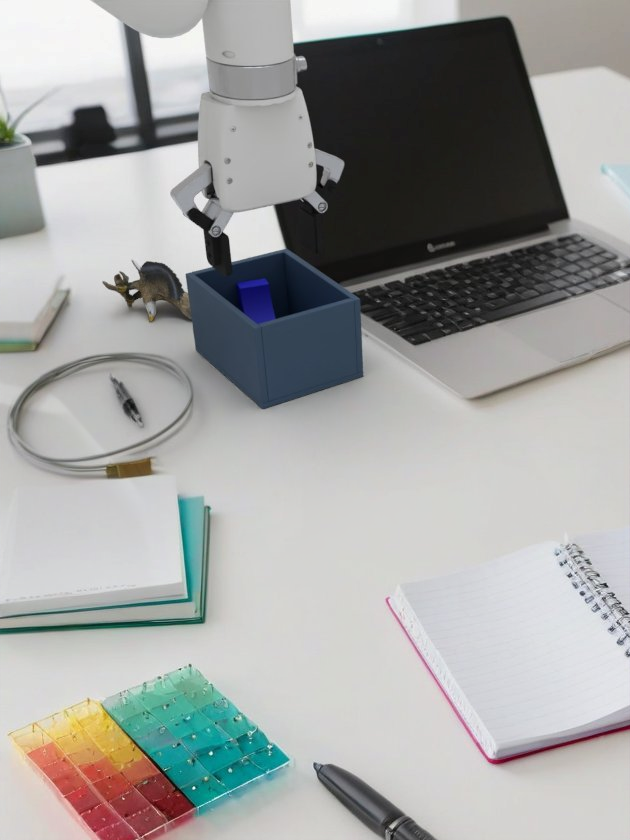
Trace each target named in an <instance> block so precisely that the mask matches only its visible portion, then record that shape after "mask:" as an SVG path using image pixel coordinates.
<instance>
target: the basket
mask: <svg viewBox="0 0 630 840" xmlns="http://www.w3.org/2000/svg"><path fill="white" fill-rule="evenodd" d="M231 262H232V273H231V275H229V276H224V275H223V274H221V273H220V272H219V271H217V270H216V269H215V268H213V267H212V266H210V267H206V268H202V269H198V270H194V271H192V272H191V271H190V272H187V273H185V279H186V281H185V282H186V289H187V293H188V296H189V304H190V311H191V318H192V319H191V324H192V333H193V339H194V340H193V341H194V345H195V352H197V353H198V354H199V355H201V357H203V358H204V359H205V360H206V361H207V362H208V363H209V364H210V365H212V366H213V367H214V368H215V369H216V370H217V371H219V373H220V374H222V375H223V376H225V378H227V379H228V381H230V382H231V383H233V384H234V385H235V386H236V387H237V388H238V389H239V390H240V391H241V392H242V393H244V394H245V395H246V396H247V397H248V398H249V399H251V400H252V402H254V403H255V404H256V405H257V406H258V407H259V408H261V409H262V410H264V409H267V408H270V407H274V406H276V405H280V404H283V403H286V402H289V401H292V400H296V399H298V398H302V397H305V396H308V395H311V394H313V393H317V392H320V391H323V390H326V389H329V388H332V387H335V386H338V385H341V384H344V383H348V382H350V381H353V380H357V379H359V378H363V377H364V360H363V357H364V356H363V336H362V333H363V332H362V311H361V310H362V309H361V299H360V298H359V297H358V296H357V295H355V293H353V292H351V291H350V290H348V289H347V288H345V287H343V286H342V285H341V284H339V283H338V282H336V281H335V280H333V279H332V278H330V277H329V276H327V275H326V274H324V273H323V272H321V271H320V270H319V269H318V268H316V267H314V266H313V265H312V264H310V263H309V262H307V261H305V260H304V259H303V258H301V257H300V256H298V255H297V254H295V253H294V252H292V251H291V250H289V249H288V248H283V249H278V250H275V251H271V252H267V253H263V254H259V255H255V256H250V257H246V258H242V259H239V260H234V261H231ZM264 278H265V279H266V280H267V282H268V283H269V288H270V295H271V301H272V306H273V310H274V314H275V318H276V319H274V320H271V321H267V322H264V323H260V324H256V323H255V322H254V321H253V320H251V319H250V318H249V317H248V316H246V315H245V314H244V313H242V312H241V311H240V310H239V303H238V294H237V285H236V283H238V282H244V281H251V280H257V279H264Z"/></svg>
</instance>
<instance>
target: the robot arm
mask: <svg viewBox="0 0 630 840" xmlns="http://www.w3.org/2000/svg"><path fill="white" fill-rule="evenodd" d="M90 2H92V3H93V4H94V5H96V6H98V7H99V8H101V9H102V10H103V11H105V12H107V13H108V14H110V15H111V16H113V17H114V18H116V19H117V20H119V21H120V22H121V23H123V24H124V25H126V26H128V27H130V28H131V29H132V30H134V31H136V32H138V33H140V34H143V35H146V36H148V37H151V38H158V39H173V38H177V37H181V36H183V35H185V34H187V33H190V31H191V30H193V29H194V28H195V27H196V26H198V24H199V23H200V21H201V23H202V32H203V41H204V50H205V51H204V52H205V59H206V68H207V69H206V70H207V78H208V87H209V91H206V92H203V93H201V95H200V99H199V100H200V101H199V109H198V122H197V124H198V125H197V156H198V157H197V158H198V160H197V161H198V168H197V169H196V170H194V171H193V172H192V173H191V174H189V175H188V176H186V177H185V178H184V179H183V180H181V181H180V182H179V183H178V184H177V185H175V186H174V187H173V188H172V189H171V190H170V193H169V194H170V197H171V198H172V200H173V201H174V203H175V204H176V206H177V207H178V209H179V210H180V211H181V212H182V215H183V216H184V217H186V218H187V219H188V220H189V221H191V222H192V223H193V224H195V225H196V226H198V227H199V228H200V229H201V230H202V231H203V238H204V247H205V256H206V260H207V263H208V264H209V265H210V267H213V268H215V269H216V270H217V271H219V272H220V273H221V274H223V275H224V276H229V275H231V273H232V262H233V261H232V253H231V244H230V237H229V235H228V234H226V233H225V232H224V230H225V229H226V228H227V225H228V224H229V222H230V220H231V219H232V217H233V215H234V214H237V213H243V212H248V211H253V210H258V209H262V208H266V207H271V206H276V205H281V204H285V203H290V202H294V201H298V200H300V201H302V204H299V205H298V209H297V212H298V228H299V241H300V244H301V245H302V246H303V247H305V249H308V250H309V251H310V252H312V253H314V254H321V253H323V240H324V239H325V233H324V232H325V230H324V217H323V215H324V213H325V212H327V211H328V207H329V206H328V203H329V202H330V200H331V199H332V198H333V196H334V194H335V193H336V192H337V190H338V182H339V181H340V179H341V176H342V173H343V171H344V168H345V161H344V160H343V159H341V158H340V157H337V156H336V155H334V154H330V153H328V152H325V151H323V150H320V149H318V148H315V144H314V143H315V142H314V137H313V130H312V126H311V125H312V124H311V119H310V116H309V111H308V107H307V103H306V100H305V97H304V94H303V91H302V89H301V87H298V86H297V85H298V75H299V74H300V73H304V72H306V71H307V70H308V63H307V60H306V57H305V56H303V55H299V56H297V55H296V53H295V52H294V49H295V47H294V38H293V37H294V34H293V22H292V21H293V20H292V19H293V18H292V4H291V0H90ZM317 166H321V167H323V171H322V176H320V178H319V179H318V178H317V177H318V176H317V175H318V174H317V173H318V172H317ZM317 179H318V180H317ZM199 193H201V194H202V196H203V197H204V198H205V199H206V200H208V201H207V202H206V203H205V205H204V207H203V208H202V210H200V209H199V208H198V206H197V204H196V202H195V197H196V196H197V195H198V194H199Z"/></svg>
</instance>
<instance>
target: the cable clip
mask: <svg viewBox="0 0 630 840" xmlns="http://www.w3.org/2000/svg"><path fill="white" fill-rule="evenodd" d="M236 285H237V294H238V303H239V310H240V311H241V312H242V313H244V314H245V315H246V316H248V317H249V318H250V319H251V320H253V321H254V322H255V323H256V324H260V323H264V322H267V321H271V320H274V319H276V318H275V314H274V310H273V306H272V301H271V295H270V288H269V283H268V282H267V280H266V279H265V278H264V279H257V280H251V281H244V282H238V283H236Z"/></svg>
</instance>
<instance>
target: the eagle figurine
mask: <svg viewBox="0 0 630 840" xmlns="http://www.w3.org/2000/svg"><path fill="white" fill-rule="evenodd" d="M130 260H131V261H130V262H131V263H132V265H133V266H134V267H135V268H136V270H137V273H138V276H139V279H137V280H133V281H129V280H130V277H129V276H128V275H127V274H125V273H124V272H123V271H121V270H119V272H118V273H117V274H115V275H114V277H113V281H114V285H113V284H111V283H108V282H106V280H102V285H103V286H105V288H106V289H107V290H110V291H113V292H115V293H116V292H117V294H119V295H120V296H121V297H122V298H123V299H124V300H125V302H126V304H127V307H128V308H132V307H133V305H134V303H135V302H136V301H137V300H139V299H142V302H143V304H144V306H145V308H146V311H147V314H148V322H149V323H151V322H153V321H154V318H155V316H156V315H157V307H156V306H157V305H156V303H157V302H158V301H165V302H167V303H169V304H171V305H172V306H174V307H175V308H177V309H178V310H179V311H180V312H181V313H182V314H183V315H184V316H185V317H187V318H188V319H189V320H192V318H191V311H190V304H189V296H188V291H185V290H184V288H182V287H183V284H182V283H181V281H180V278H179V277H178V275H177V274H176V273H175V272H174V270H173V269H171V267H169V266H168V265H166V263H163V262H157V261H149V260H146V261H145V262H144V263H143V264H142V265H140V264H139V263H138V262H137V260H134V259H130ZM133 290H136V292H135V293H133V294H131V293H130V291H133Z"/></svg>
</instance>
